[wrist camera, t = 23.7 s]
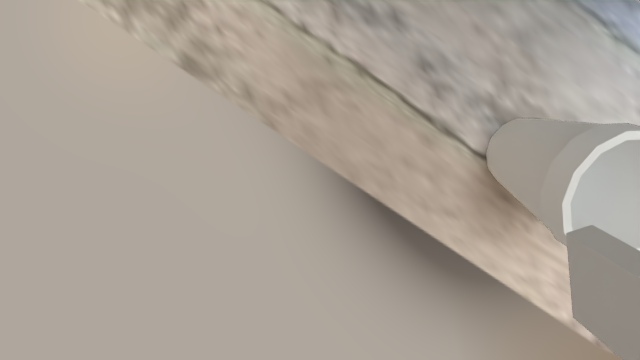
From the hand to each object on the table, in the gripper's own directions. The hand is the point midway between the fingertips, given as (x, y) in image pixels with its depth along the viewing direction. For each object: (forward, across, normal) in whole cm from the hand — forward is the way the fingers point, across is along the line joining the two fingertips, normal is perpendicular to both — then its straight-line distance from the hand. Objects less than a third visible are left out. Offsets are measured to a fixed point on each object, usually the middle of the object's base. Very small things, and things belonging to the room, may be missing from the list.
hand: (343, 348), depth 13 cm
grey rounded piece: (+29, +21, -8) cm, 37 cm away
